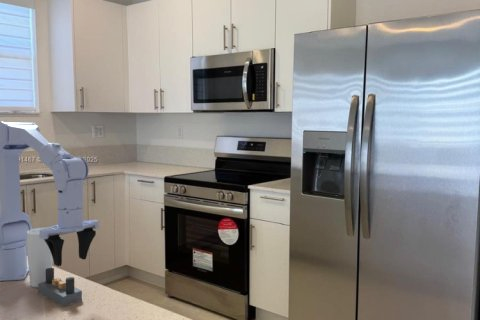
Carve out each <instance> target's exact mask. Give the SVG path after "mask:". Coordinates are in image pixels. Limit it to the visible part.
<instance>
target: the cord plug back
mask: <svg viewBox="0 0 480 320" xmlns="http://www.w3.org/2000/svg"><path fill="white" fill-rule="evenodd" d="M53 279H55V268H54V267H52V268H47V269H46V283H47V284H50V283H52V280H53Z"/></svg>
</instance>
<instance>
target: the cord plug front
mask: <svg viewBox="0 0 480 320" xmlns="http://www.w3.org/2000/svg"><path fill="white" fill-rule="evenodd" d="M65 281H66V294H72V293H74V287H75V277H73V276H69V277H66V278H65Z"/></svg>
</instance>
